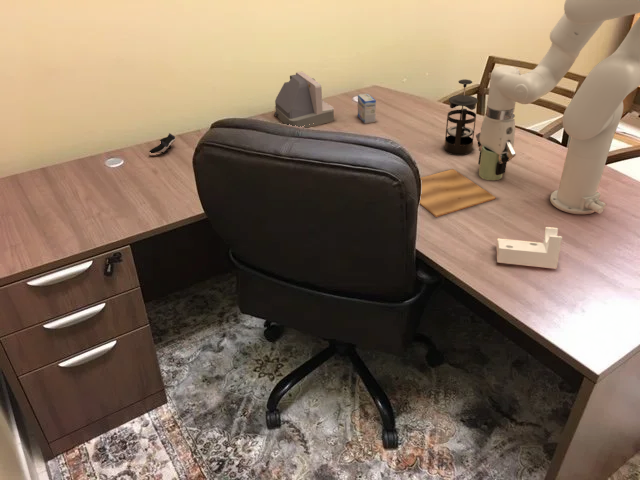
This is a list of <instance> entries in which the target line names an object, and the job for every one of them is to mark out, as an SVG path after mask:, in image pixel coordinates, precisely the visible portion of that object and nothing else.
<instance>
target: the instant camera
mask: <svg viewBox="0 0 640 480" xmlns="http://www.w3.org/2000/svg"><path fill="white" fill-rule="evenodd" d="M274 102H275V106H274V109H275V112H274V116H275V117H277V118H278V119H279V120H280V121H281V122H282V123H283V124H284V125H285V124H288V125H289V124H290V125H292V126H295V125H296V126H298V127H300V126H301V127H302V126H304V125H305V126H304V127H306V128H305V129H308V128H311V127H315V126H320V125H323V124H329V123H333V122H334V121H335V110H334V109H335V108H334V106H332V105H330V103H327V102H326V101H325V100H323V91H322V84H321V83H319V82H318V81H317V80H316V79H315V78H314V77H312V76H309V75H308V74H306V73H305V72H303V71H297V72H295V74H291V75H289V81H286V82H284V83H283V85H282V86H281V88H280V90H279V92H278V94H277V96H276V98H275V100H274ZM313 123H314V124H313ZM309 124H310V125H309Z"/></svg>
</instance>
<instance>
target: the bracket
mask: <svg viewBox="0 0 640 480" xmlns="http://www.w3.org/2000/svg"><path fill="white" fill-rule="evenodd" d="M544 229H545V230H544V235H543V240H542V242H539V241H529V240H519V239H511V238H510V239H509V238H499V237H498V238H497V241H496V247H495V249H496V263H500V264H507V265H518V266H527V267H534V268H535V267H536V268H546V269H553V270H554V269H555V270H557V269H558V264H559V257H560V253H561V248H562V243H563V236H562V235H558V232H559V228H558V227H552V226H551V227H550V226H545V228H544Z"/></svg>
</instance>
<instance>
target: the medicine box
mask: <svg viewBox="0 0 640 480" xmlns="http://www.w3.org/2000/svg"><path fill="white" fill-rule="evenodd" d="M376 117H377V100H376V99H375V98H374V97H373V96H371V94H369V93H361V94H358V95H357V118H359V119H360V121H362V122H363V123H364V124H373V123H376V121H377V118H376Z"/></svg>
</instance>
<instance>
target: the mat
mask: <svg viewBox="0 0 640 480" xmlns="http://www.w3.org/2000/svg"><path fill="white" fill-rule="evenodd" d="M420 178H421V180H422V194H421V200H420V204H419V205H420V206H421V207H422V208H424V209H425V210H426V211H428V212H429V213H430V214H431V215H432V216H434V217H435V218H438V217H442V216H445V215H448V214H452V213H454V212H455V213H456V212H457V211H460V210H464V209H468V208H470V207H473V206H477V205H481V204H484V203H488V202H490V201H494V200H496V198H497V197H496V196H495V195H493V194H492V193H491V192H489V191H487V190H486V189H484V188H483V187H481V186H479V185H478V184H477V183H475V182H473V181H472V180H470V179H469V178H468V177H466V176H465V175H463V174H461V173H460V172H459V171H457V170H455V169H454V168H451V169H447V170H444V171H440V172H437V173H433V174H428V175H425V176H422V177H420Z"/></svg>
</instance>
